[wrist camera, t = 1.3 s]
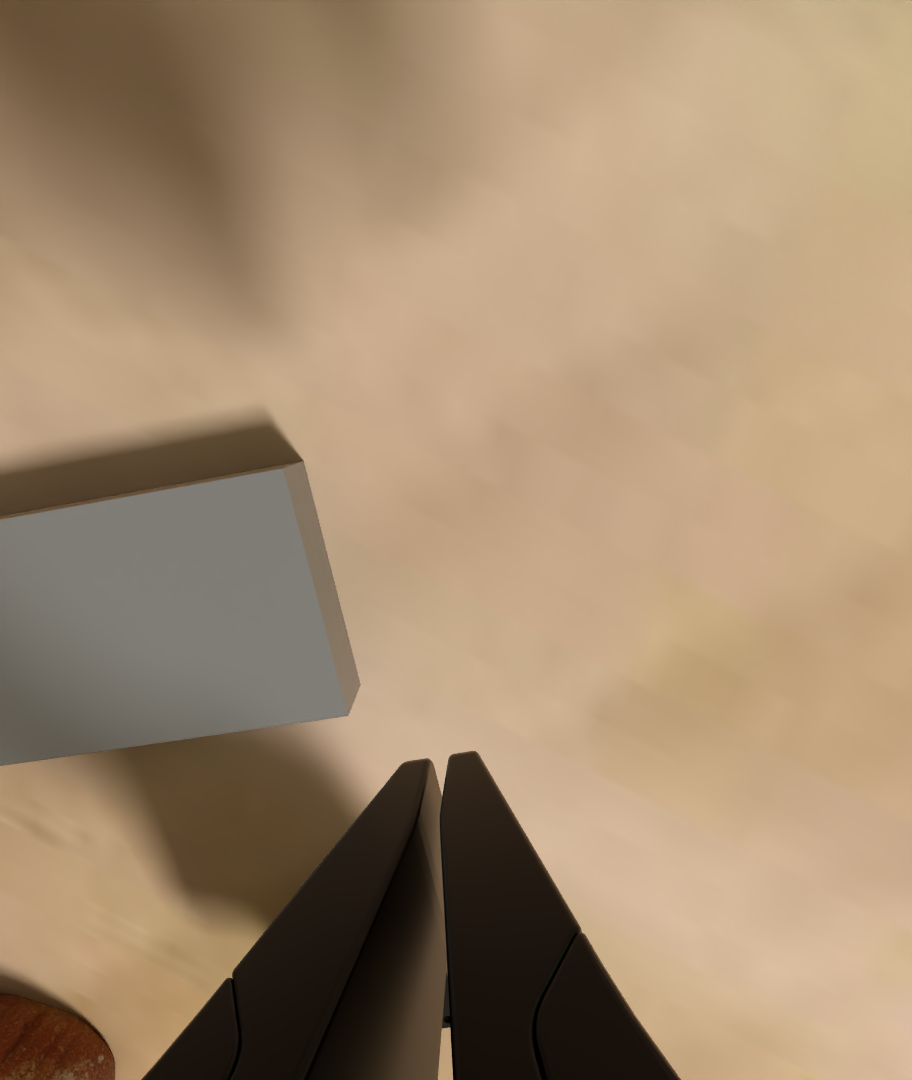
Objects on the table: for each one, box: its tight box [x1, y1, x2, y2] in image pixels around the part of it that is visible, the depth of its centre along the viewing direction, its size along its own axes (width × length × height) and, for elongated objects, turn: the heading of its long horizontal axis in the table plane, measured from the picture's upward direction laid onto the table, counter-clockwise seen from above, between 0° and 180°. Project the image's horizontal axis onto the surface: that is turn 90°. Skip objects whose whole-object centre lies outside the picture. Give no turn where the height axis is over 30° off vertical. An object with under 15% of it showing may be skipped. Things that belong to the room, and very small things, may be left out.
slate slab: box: [0, 461, 360, 766], centre depth 19 cm, size 9×16×3 cm, turn 100°
